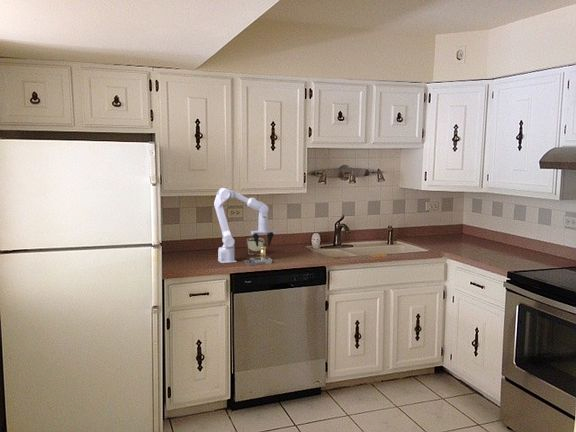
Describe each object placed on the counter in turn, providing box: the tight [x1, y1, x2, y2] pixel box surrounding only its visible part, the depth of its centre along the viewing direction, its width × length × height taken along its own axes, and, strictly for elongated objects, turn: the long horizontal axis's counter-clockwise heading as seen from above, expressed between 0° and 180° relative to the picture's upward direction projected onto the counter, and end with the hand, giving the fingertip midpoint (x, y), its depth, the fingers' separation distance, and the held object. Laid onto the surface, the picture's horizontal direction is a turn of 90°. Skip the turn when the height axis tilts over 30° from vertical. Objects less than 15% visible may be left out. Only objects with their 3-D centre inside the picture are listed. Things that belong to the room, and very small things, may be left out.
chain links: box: [243, 256, 273, 266], centre depth 306 cm, size 15×8×3 cm, turn 113°
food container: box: [246, 237, 266, 256], centre depth 332 cm, size 12×6×10 cm, turn 70°
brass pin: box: [260, 245, 267, 257], centre depth 314 cm, size 4×4×8 cm
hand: (263, 245), depth 313 cm, fingers open, 7 cm apart
